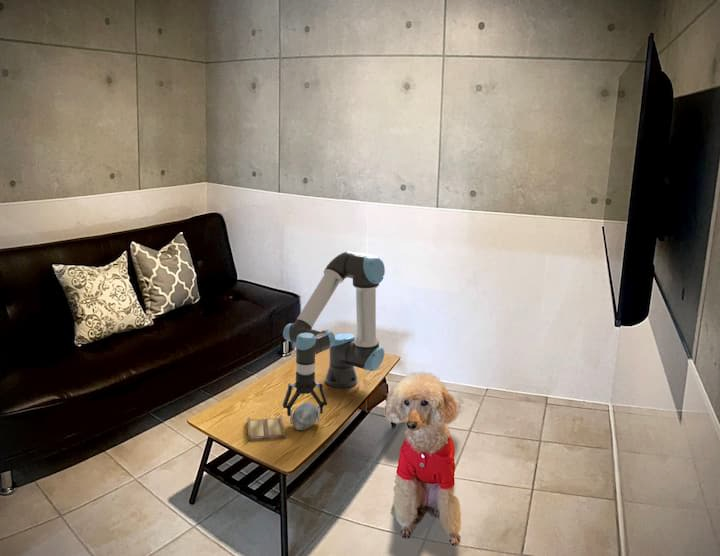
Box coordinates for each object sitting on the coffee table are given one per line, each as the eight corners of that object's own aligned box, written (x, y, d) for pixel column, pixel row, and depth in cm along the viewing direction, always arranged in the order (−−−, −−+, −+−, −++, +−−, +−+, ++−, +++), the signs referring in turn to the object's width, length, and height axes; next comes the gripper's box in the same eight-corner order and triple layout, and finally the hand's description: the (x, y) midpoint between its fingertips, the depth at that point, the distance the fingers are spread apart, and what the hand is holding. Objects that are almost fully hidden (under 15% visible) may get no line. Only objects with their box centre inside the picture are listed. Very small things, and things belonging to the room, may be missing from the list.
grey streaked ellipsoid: (298, 406, 257) (306, 392, 252) (317, 418, 257) (325, 404, 251) (283, 428, 246) (291, 413, 241) (303, 440, 246) (311, 426, 240)
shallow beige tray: (281, 419, 253) (281, 414, 252) (284, 438, 239) (284, 432, 238) (247, 422, 250) (247, 416, 249) (248, 441, 236) (248, 435, 235)
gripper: (332, 366, 249) (331, 415, 255) (275, 369, 245) (275, 419, 250) (335, 373, 242) (334, 424, 248) (277, 377, 237) (277, 428, 243)
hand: (304, 421), depth 249 cm, fingers closed on grey streaked ellipsoid, 10 cm apart
